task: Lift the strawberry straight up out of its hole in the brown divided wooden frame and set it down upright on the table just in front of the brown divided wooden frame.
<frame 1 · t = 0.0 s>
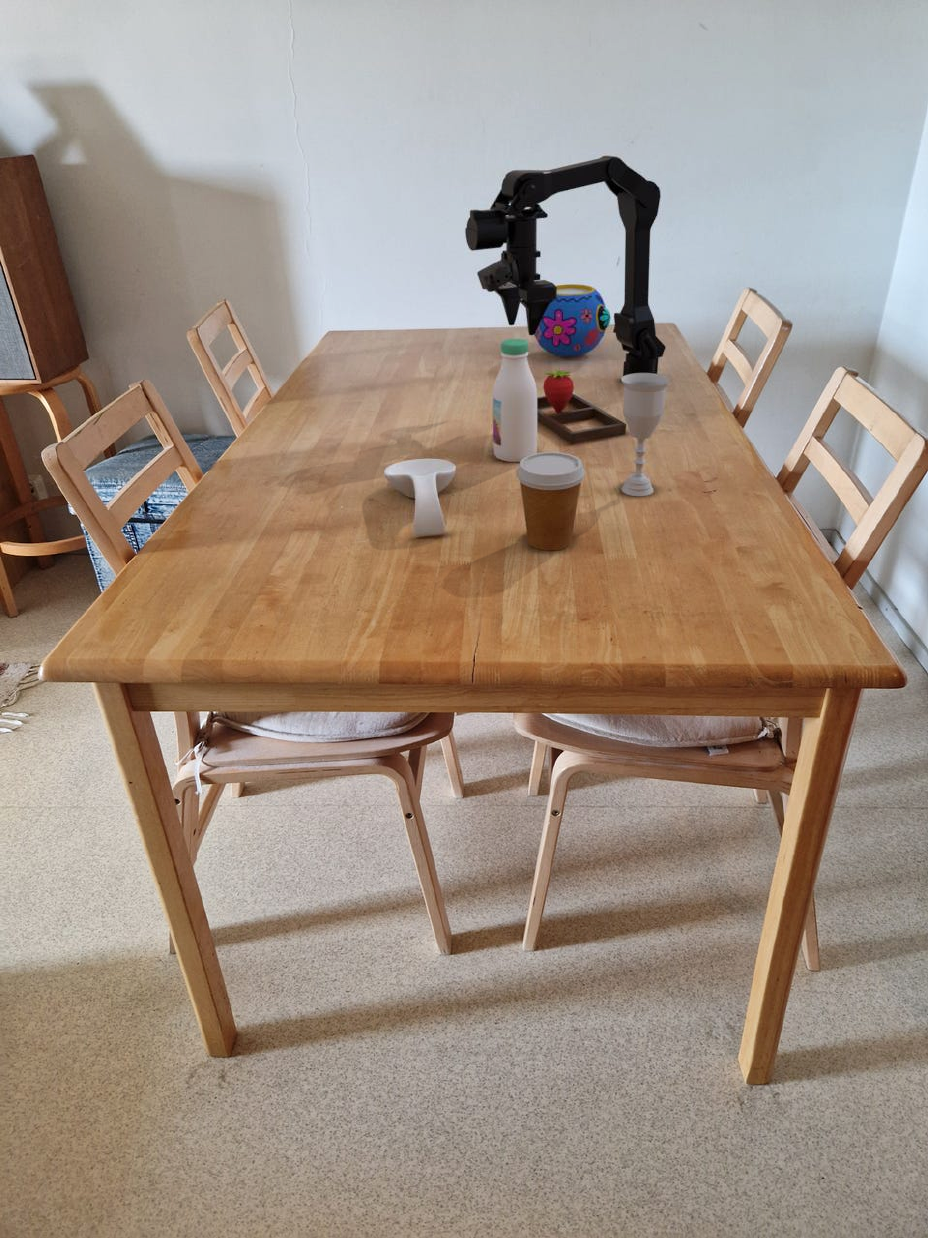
hand: (521, 329, 177), 15 cm above the table, tool pointing down, fingers open, 9 cm apart
brown divided wooden frame: (570, 421, 173), on the table
strawberry: (558, 414, 178), resting in brown divided wooden frame
ceramic pot: (568, 355, 214), on the table
chalice: (637, 491, 145), on the table
spoon rest: (424, 506, 142), on the table
milk bottle: (515, 456, 159), on the table
disposable coffee cup: (549, 542, 130), on the table
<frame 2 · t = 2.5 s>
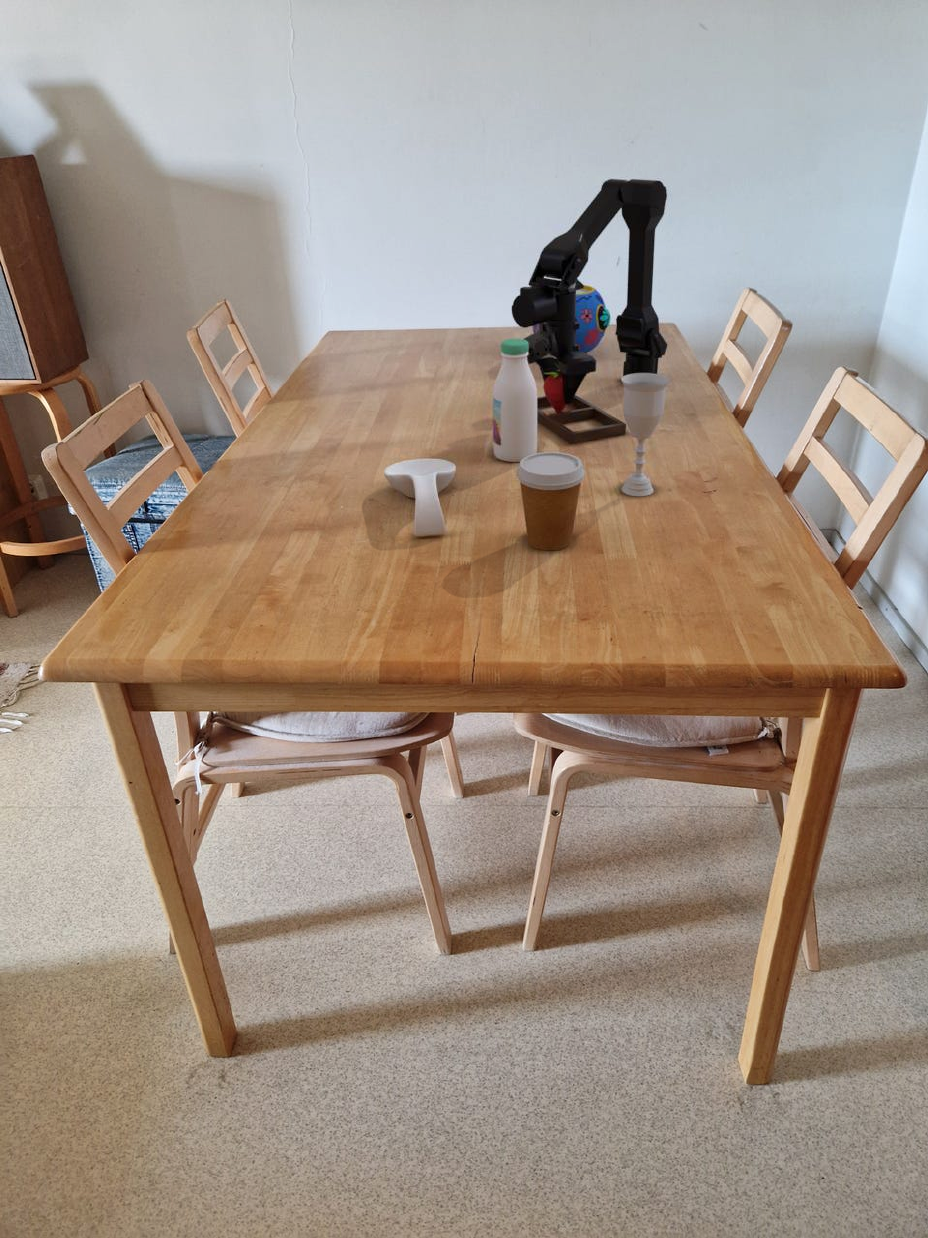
hand: (558, 398, 176), 3 cm above the table, tool pointing down, fingers closed on strawberry, 7 cm apart
strawberry: (558, 414, 178), resting in brown divided wooden frame, touching gripper
everything else where it was.
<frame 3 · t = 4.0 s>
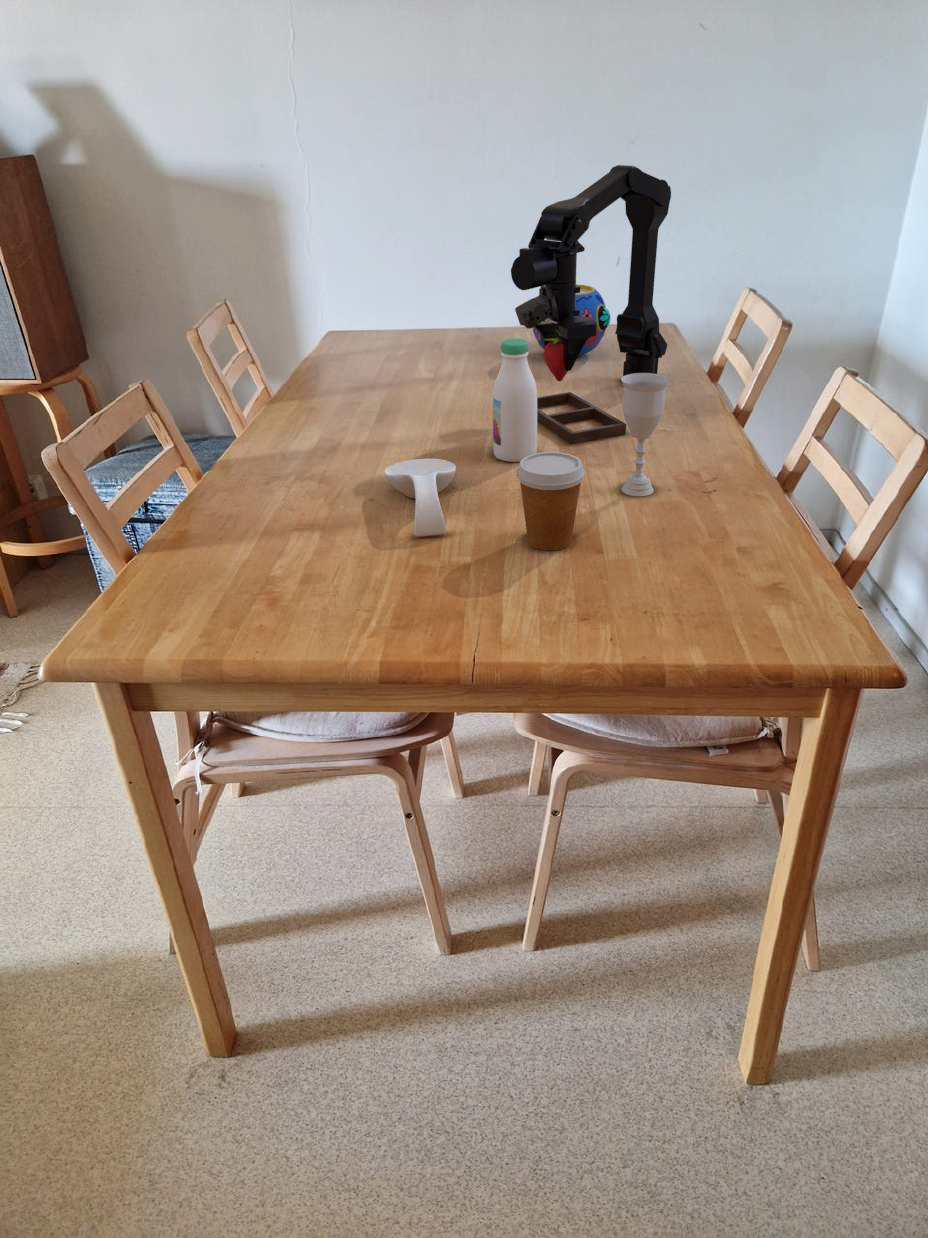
hand: (559, 365, 173), 10 cm above the table, tool pointing down, fingers closed on strawberry, 7 cm apart
strawberry: (558, 382, 174), point 6 cm above the table, touching gripper
everything else where it was.
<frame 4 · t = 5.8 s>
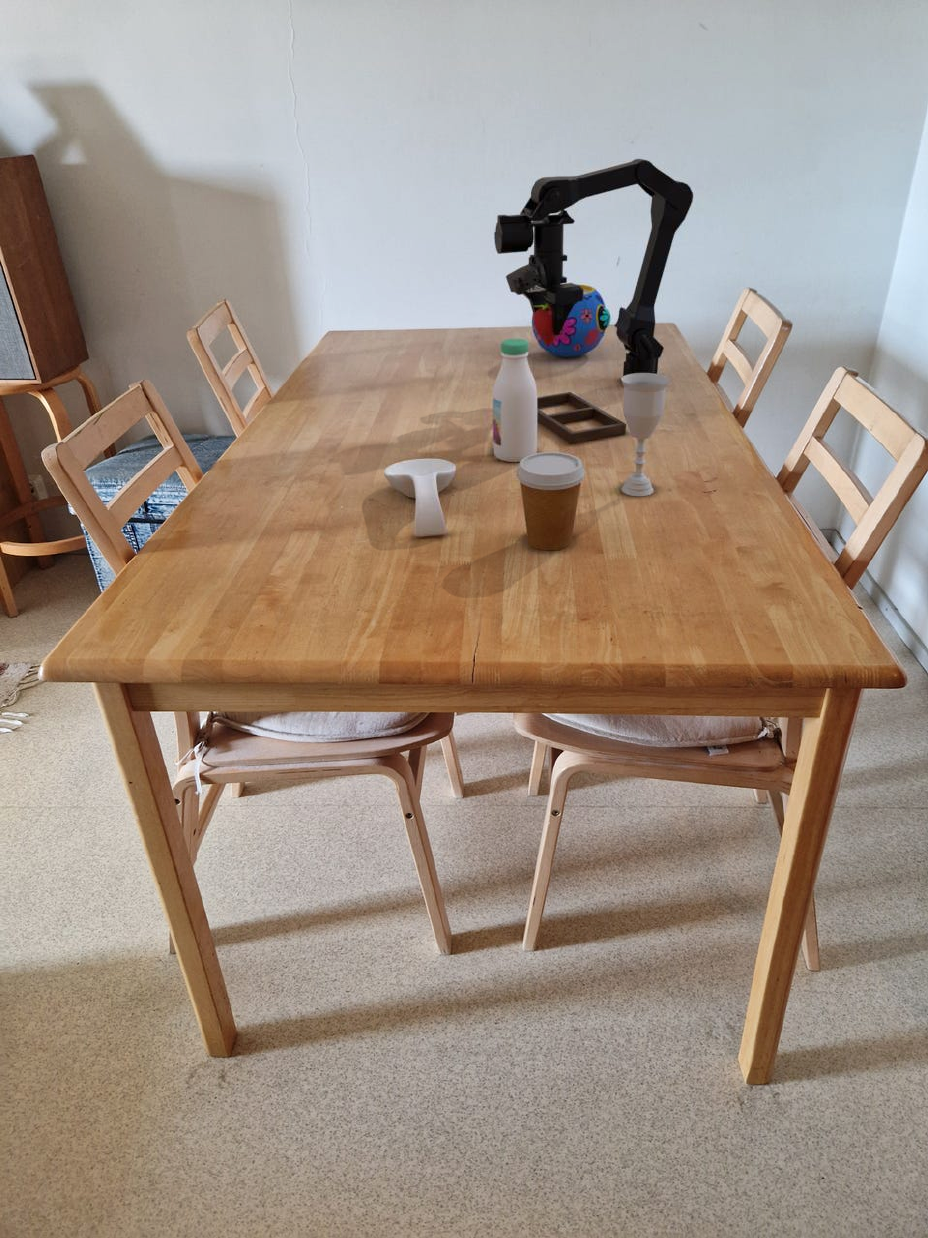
hand: (547, 330, 183), 13 cm above the table, tool pointing down, fingers closed on strawberry, 7 cm apart
strawberry: (547, 347, 184), point 9 cm above the table, touching gripper
everything else where it was.
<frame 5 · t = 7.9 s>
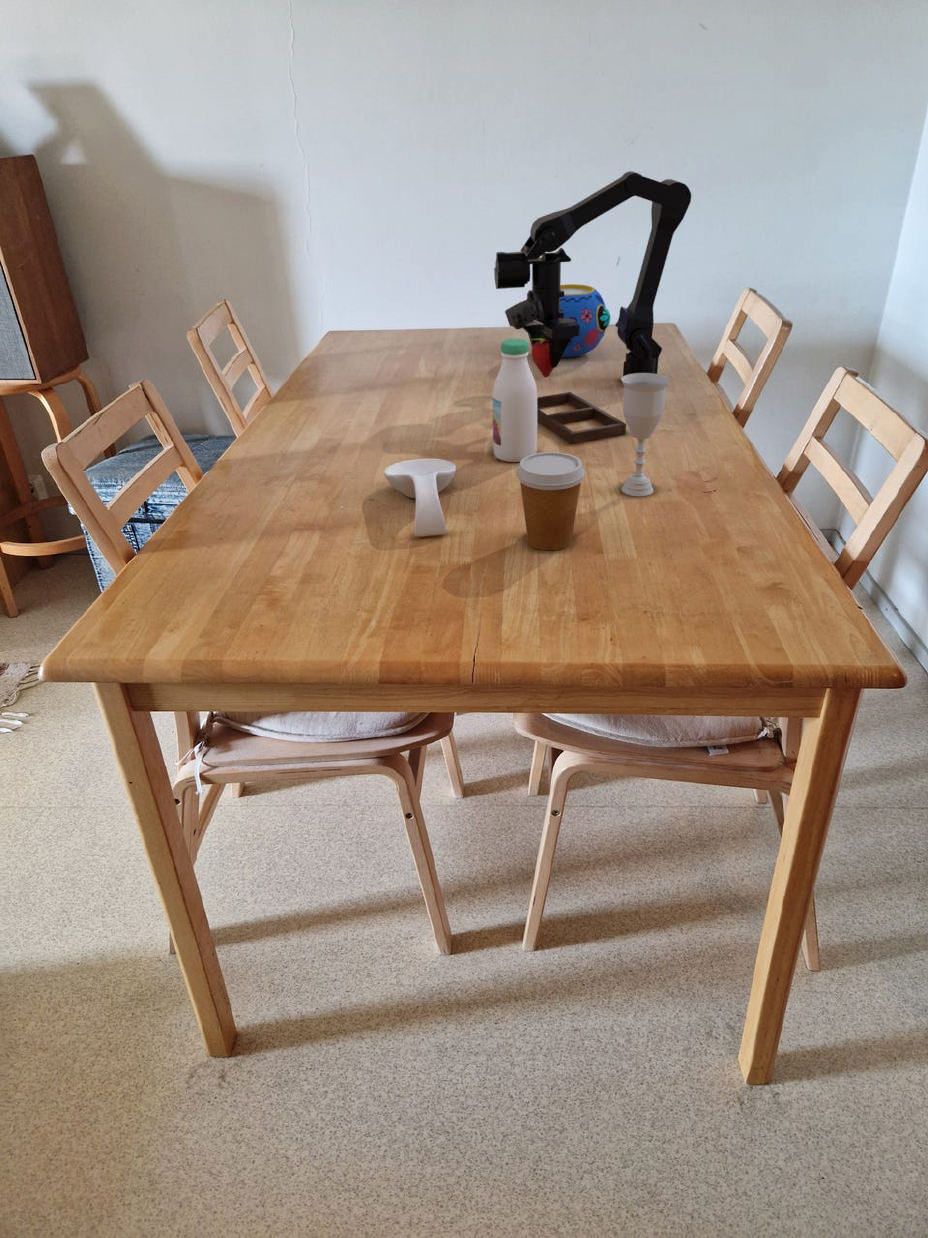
hand: (545, 363, 189), 5 cm above the table, tool pointing down, fingers closed on strawberry, 7 cm apart
strawberry: (545, 378, 190), point 2 cm above the table, touching gripper
everything else where it was.
when the fingers open (3 cm above the table, at t = 9.3 s): strawberry stays where it is, on the table.
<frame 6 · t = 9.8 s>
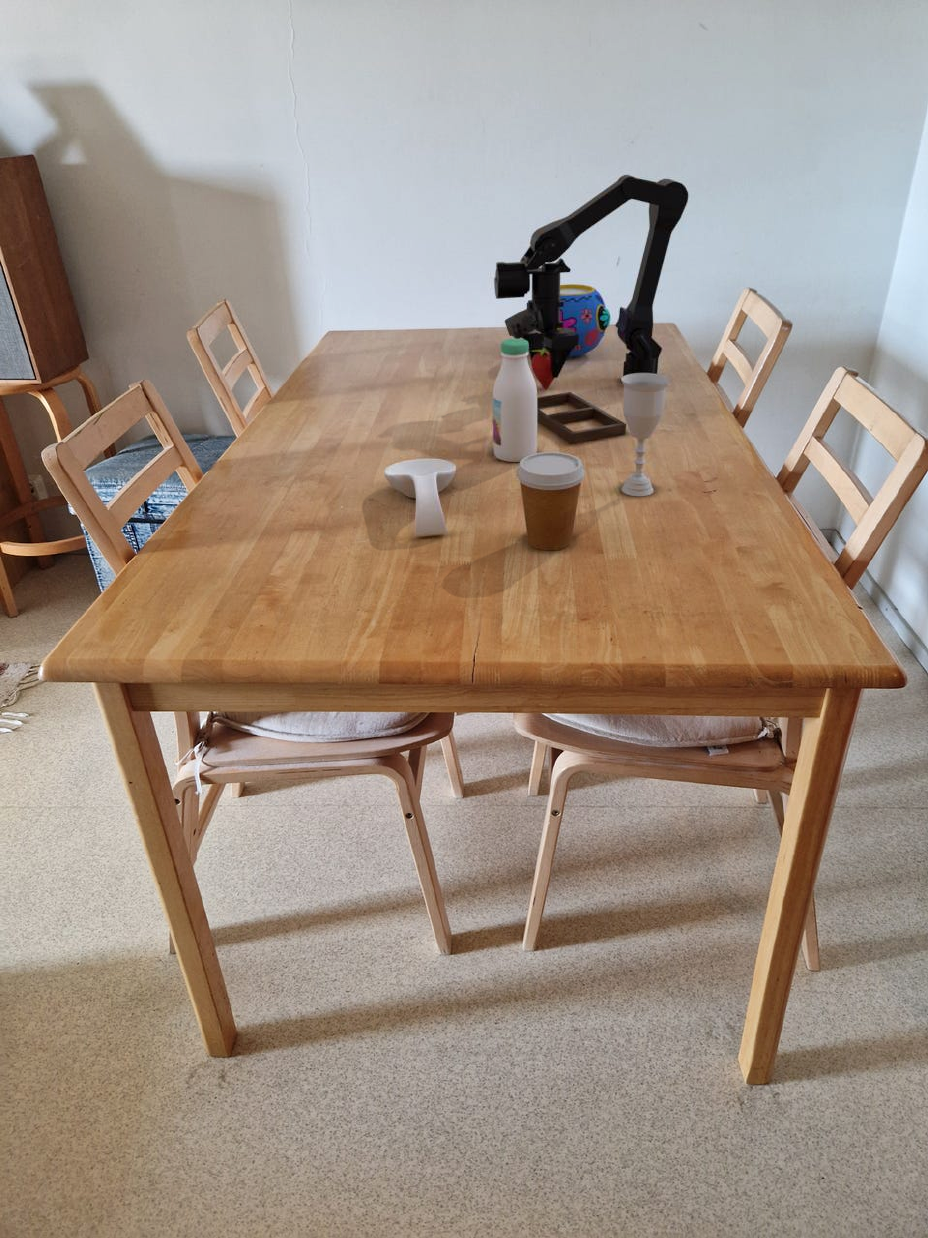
hand: (544, 372, 190), 4 cm above the table, tool pointing down, fingers open, 9 cm apart
strawberry: (545, 389, 192), on the table
everything else where it was.
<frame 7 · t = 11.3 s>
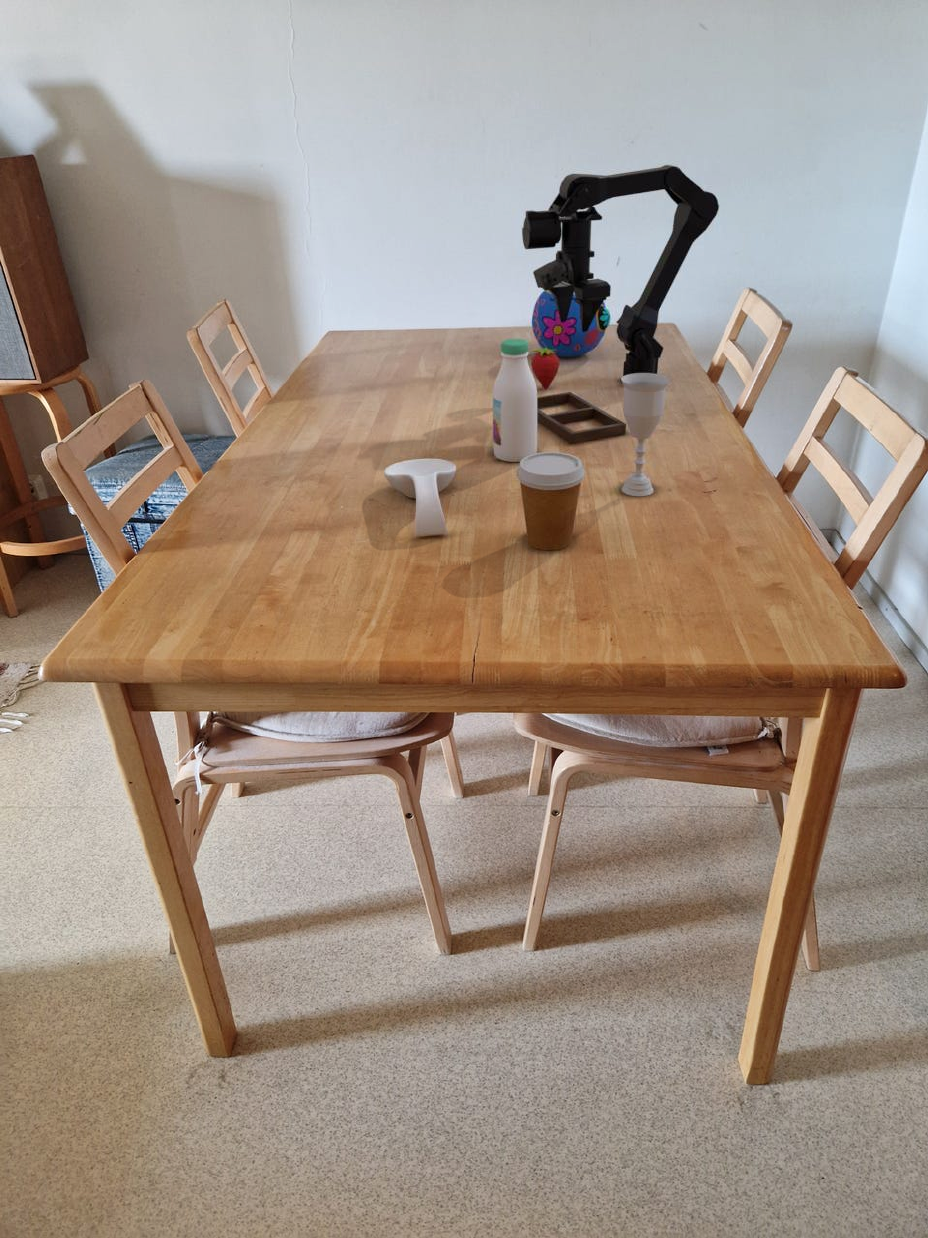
hand: (573, 326, 184), 13 cm above the table, tool pointing down, fingers open, 9 cm apart
nothing on the table moved.
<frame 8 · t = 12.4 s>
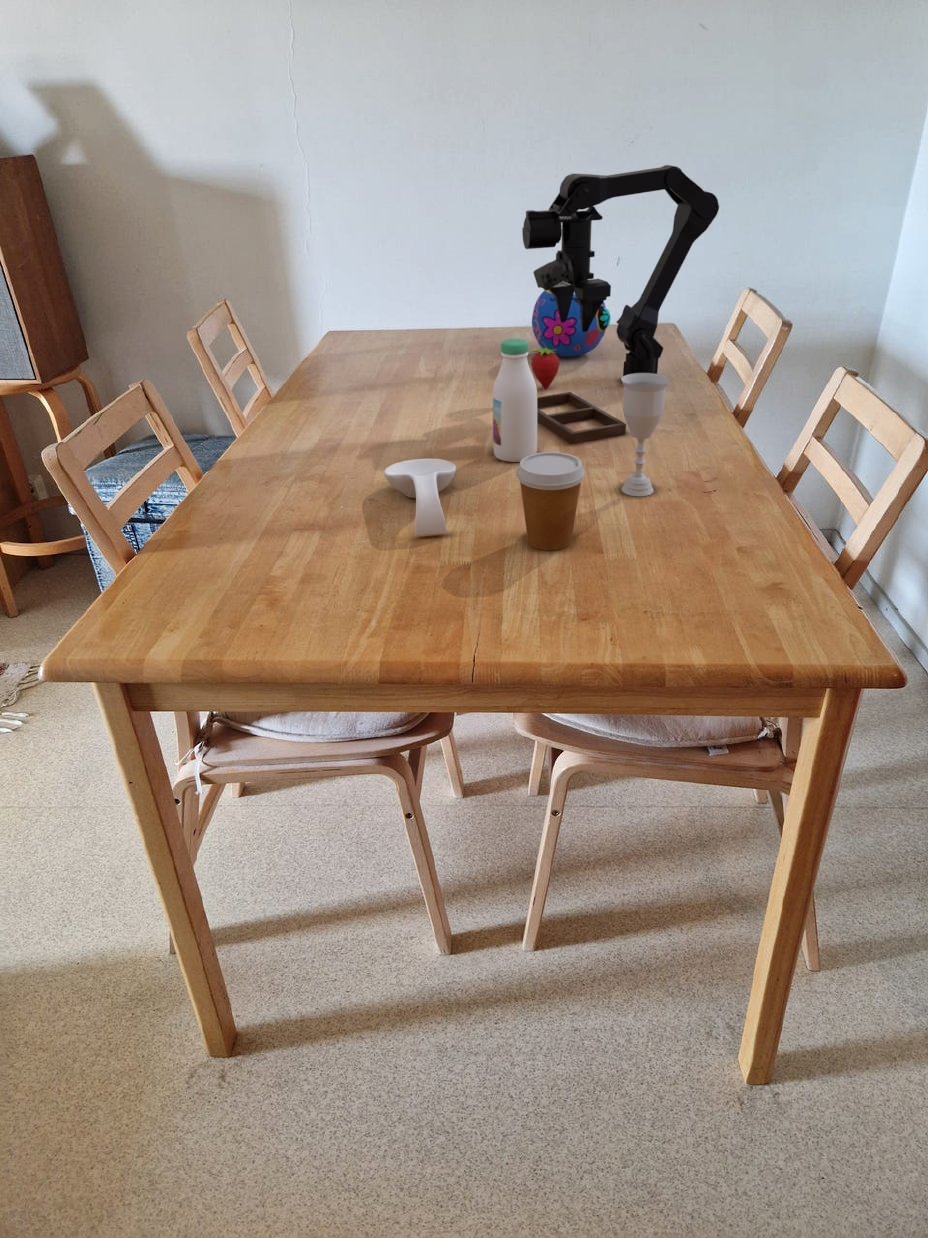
hand: (573, 326, 184), 13 cm above the table, tool pointing down, fingers open, 9 cm apart
nothing on the table moved.
at the end: strawberry inside the target area (0.1 cm from its centre), on the table; strawberry touching table; strawberry tilted 0° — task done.
